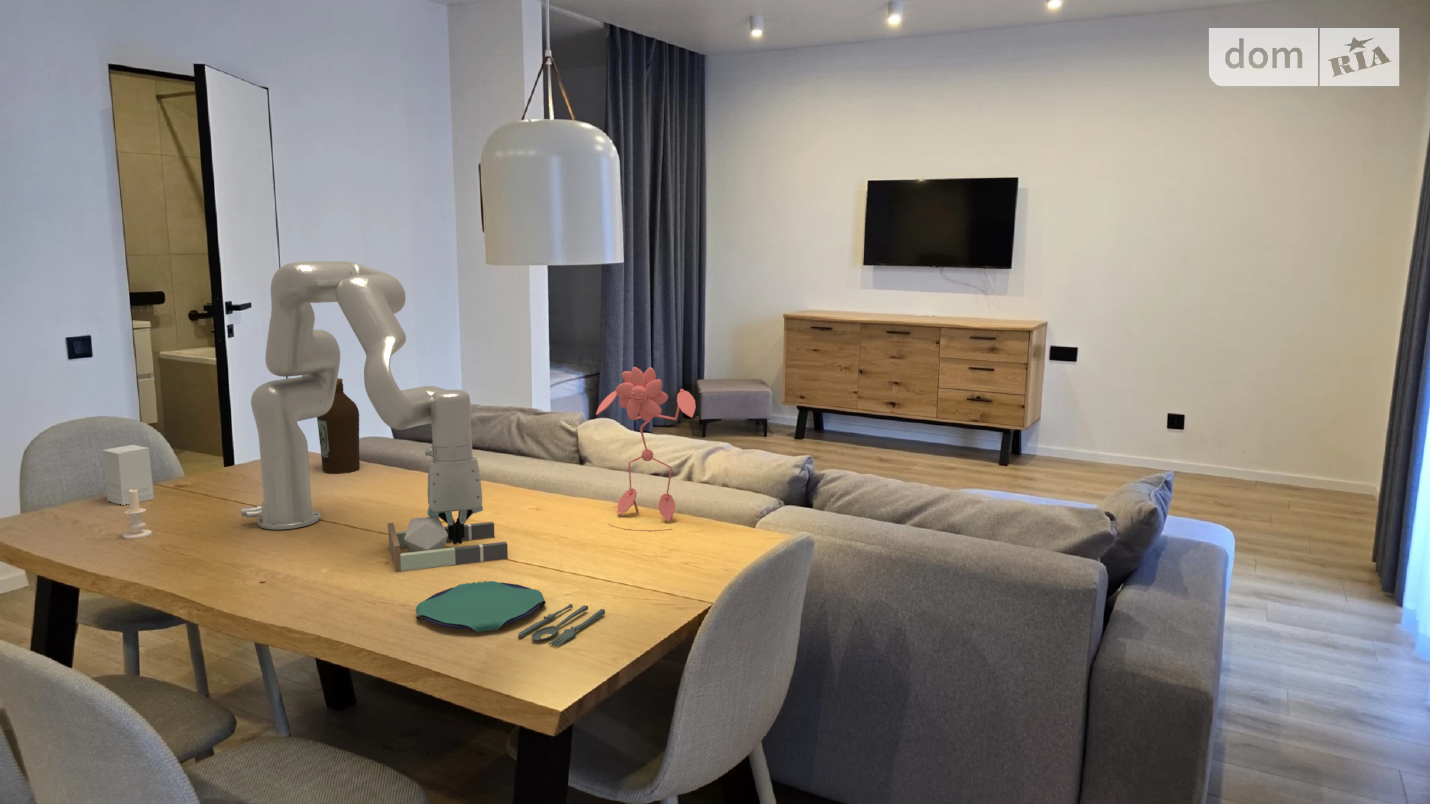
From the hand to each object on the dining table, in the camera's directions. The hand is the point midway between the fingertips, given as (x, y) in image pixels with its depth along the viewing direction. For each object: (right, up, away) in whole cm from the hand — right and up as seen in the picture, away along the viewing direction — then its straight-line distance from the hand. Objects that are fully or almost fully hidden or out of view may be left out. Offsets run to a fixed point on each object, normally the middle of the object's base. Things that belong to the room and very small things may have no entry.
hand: (456, 542), depth 186 cm
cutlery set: (+17, -8, -32) cm, 37 cm away
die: (-5, -3, -3) cm, 7 cm away
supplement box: (-88, +4, +35) cm, 94 cm away
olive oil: (-50, +9, +67) cm, 85 cm away
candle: (-69, 0, +9) cm, 70 cm away
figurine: (+35, +1, +22) cm, 41 cm away
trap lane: (-2, -2, 0) cm, 3 cm away
